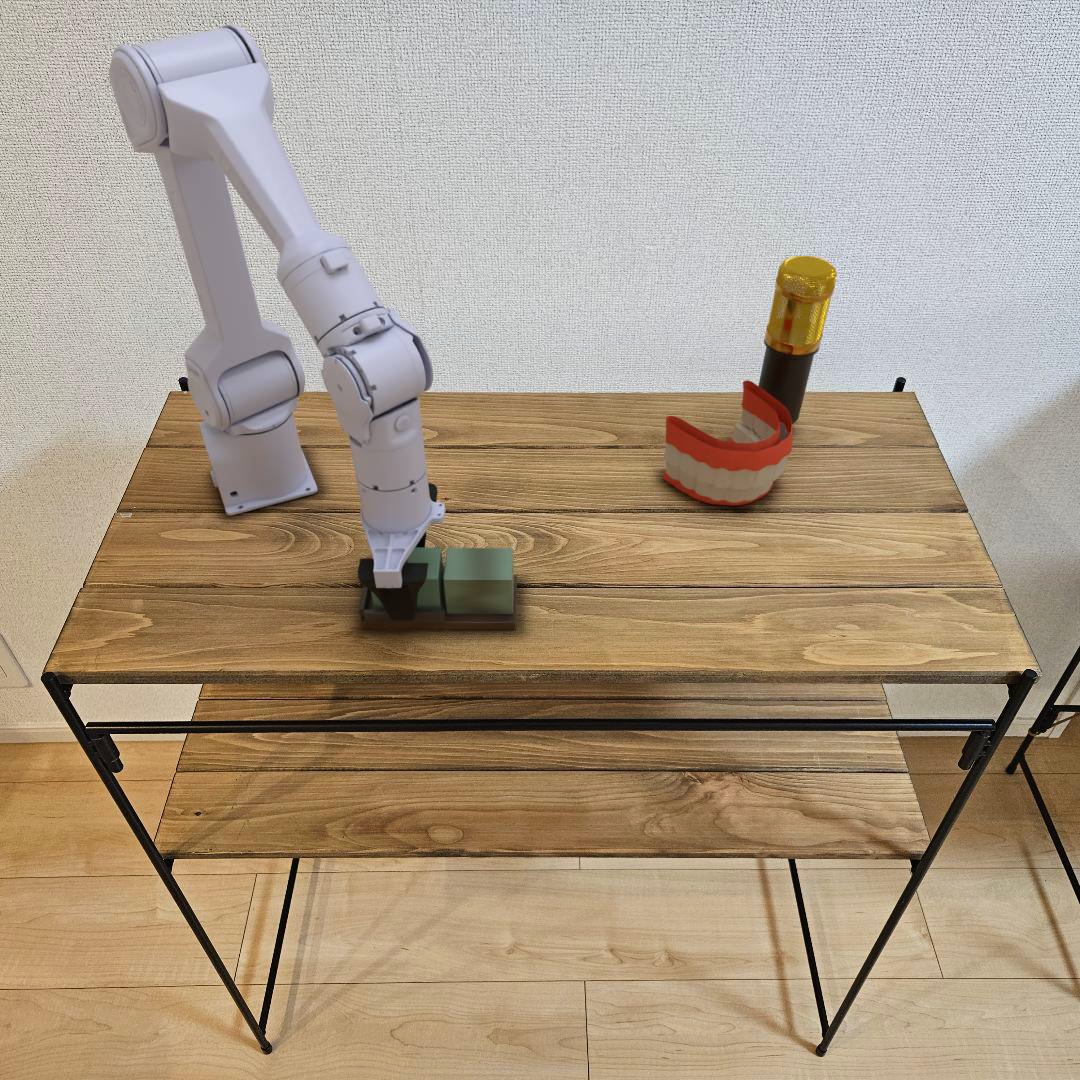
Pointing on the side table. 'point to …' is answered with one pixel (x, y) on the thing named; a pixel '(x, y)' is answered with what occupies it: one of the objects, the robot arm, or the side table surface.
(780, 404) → the toy
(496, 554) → the dark brown tray
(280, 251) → the robot arm
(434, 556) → the block
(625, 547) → the side table surface
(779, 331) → the black gold cylinder
